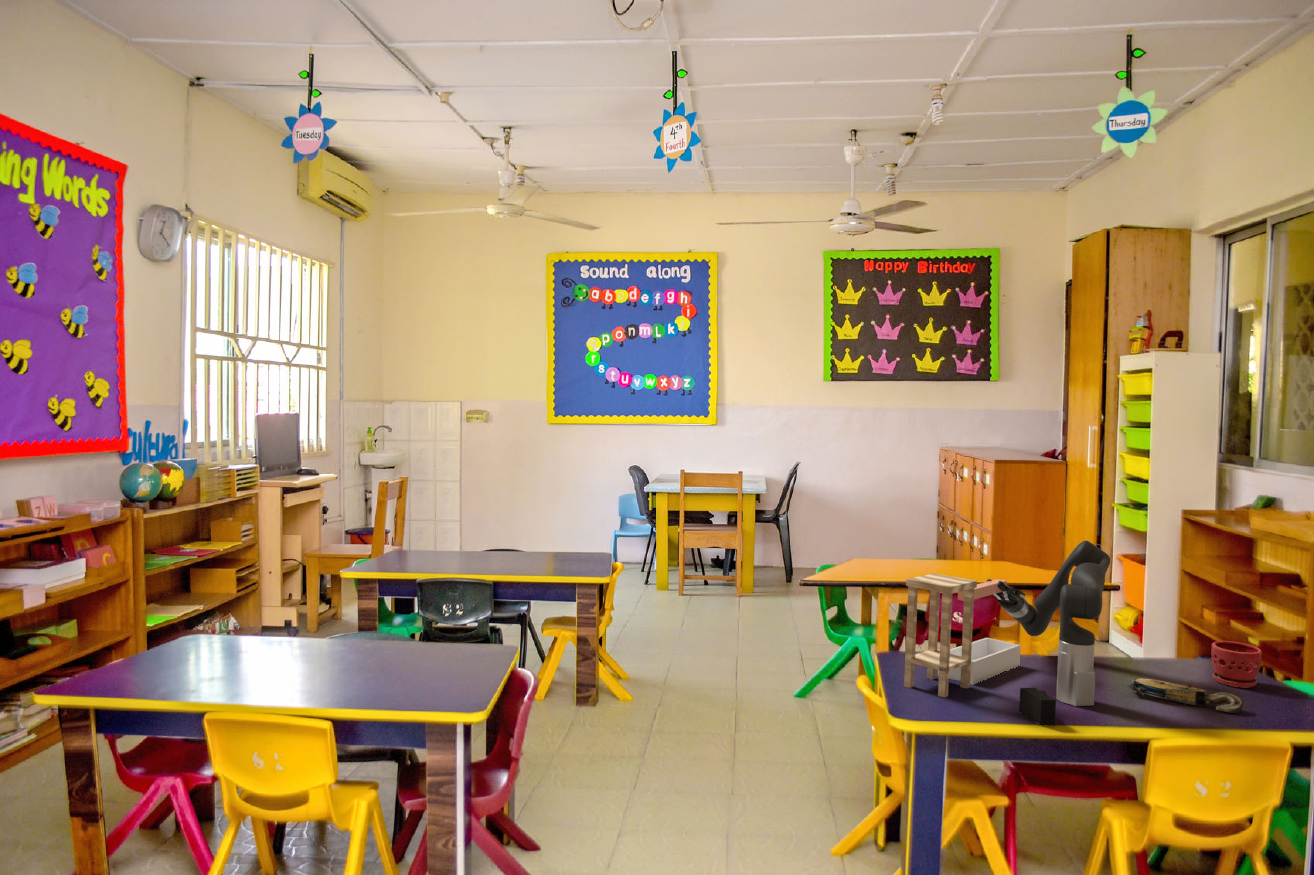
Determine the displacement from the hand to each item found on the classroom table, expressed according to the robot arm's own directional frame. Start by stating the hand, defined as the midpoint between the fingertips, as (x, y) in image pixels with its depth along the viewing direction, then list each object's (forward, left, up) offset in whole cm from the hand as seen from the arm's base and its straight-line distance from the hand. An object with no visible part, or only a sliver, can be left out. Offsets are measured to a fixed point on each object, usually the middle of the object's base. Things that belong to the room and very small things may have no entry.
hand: (993, 582), depth 284 cm
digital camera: (-46, +14, -28) cm, 56 cm away
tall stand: (-18, +28, -28) cm, 43 cm away
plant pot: (-24, -70, -28) cm, 79 cm away
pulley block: (-37, -38, -28) cm, 60 cm away
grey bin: (-4, +6, -28) cm, 28 cm away
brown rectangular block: (-4, +6, -3) cm, 8 cm away
